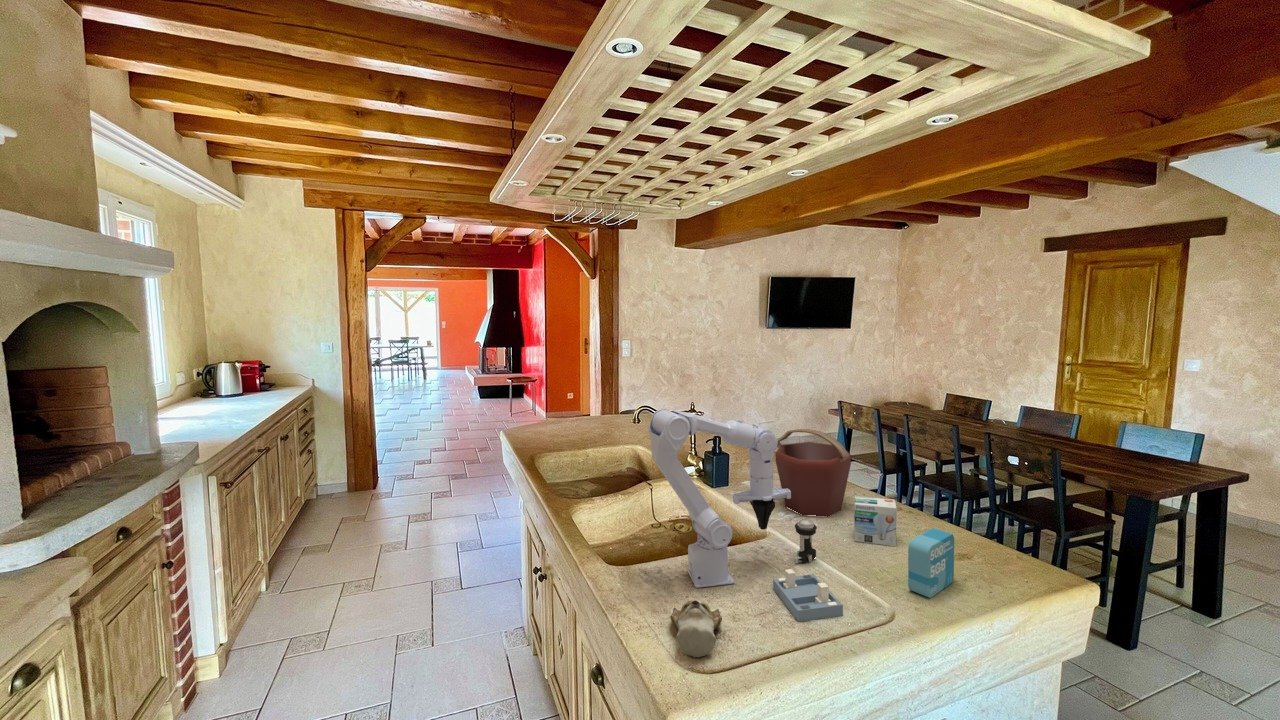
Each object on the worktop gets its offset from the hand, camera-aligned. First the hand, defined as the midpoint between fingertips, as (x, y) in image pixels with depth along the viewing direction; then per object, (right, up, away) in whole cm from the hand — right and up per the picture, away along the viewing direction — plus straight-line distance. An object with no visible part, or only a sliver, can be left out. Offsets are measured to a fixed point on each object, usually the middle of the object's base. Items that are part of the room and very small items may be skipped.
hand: (762, 527), depth 131 cm
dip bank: (+6, -11, -16) cm, 20 cm away
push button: (+11, -9, +2) cm, 15 cm away
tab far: (+3, -10, -13) cm, 17 cm away
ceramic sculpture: (-20, -14, -27) cm, 36 cm away
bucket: (+25, -5, +38) cm, 46 cm away
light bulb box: (+34, -7, +13) cm, 37 cm away
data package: (+36, -10, -12) cm, 39 cm away
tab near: (+8, -10, -19) cm, 23 cm away
